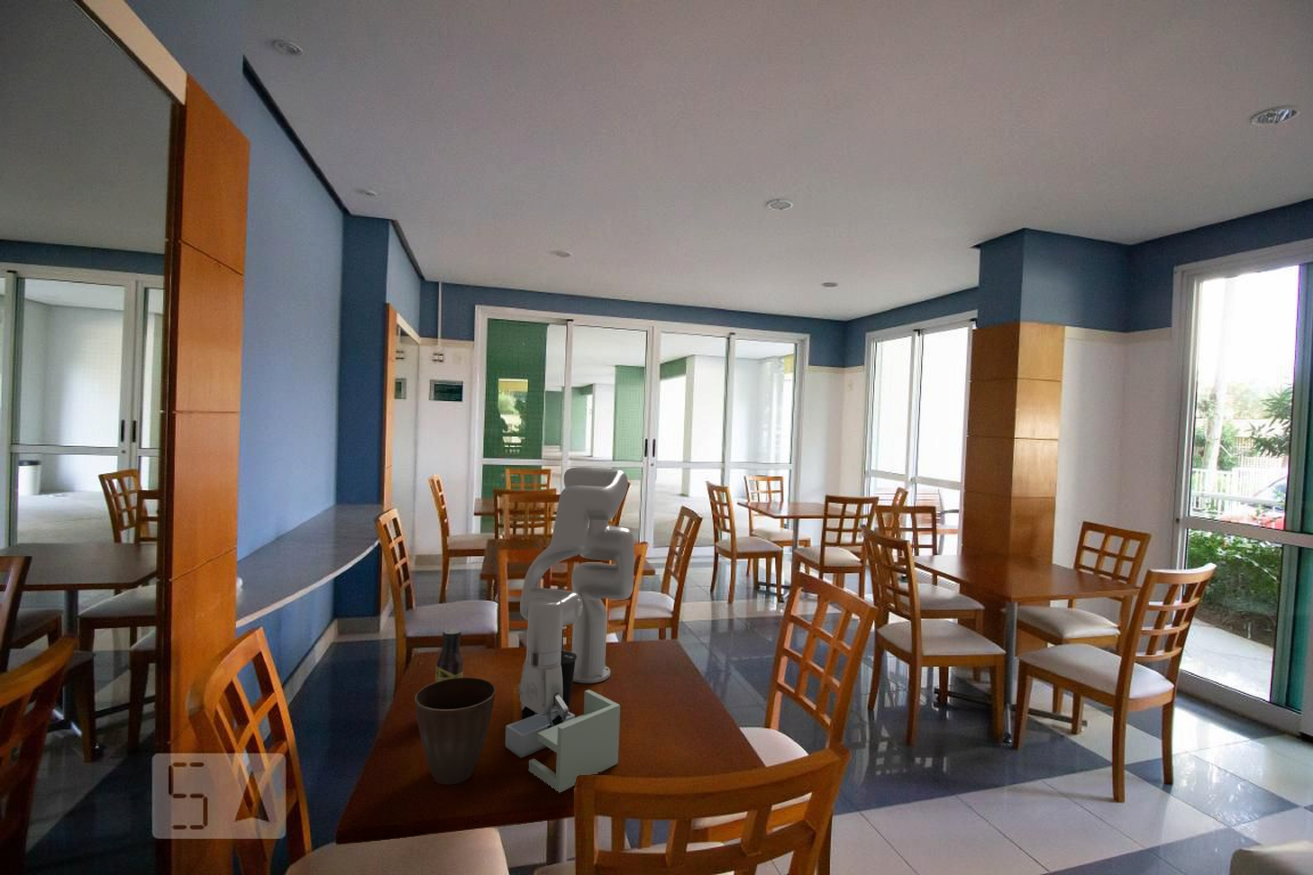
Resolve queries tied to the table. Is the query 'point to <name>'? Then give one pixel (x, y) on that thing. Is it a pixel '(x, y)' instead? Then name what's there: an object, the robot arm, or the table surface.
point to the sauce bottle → (450, 657)
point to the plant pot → (454, 725)
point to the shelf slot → (581, 743)
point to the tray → (528, 734)
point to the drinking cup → (567, 672)
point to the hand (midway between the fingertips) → (540, 734)
